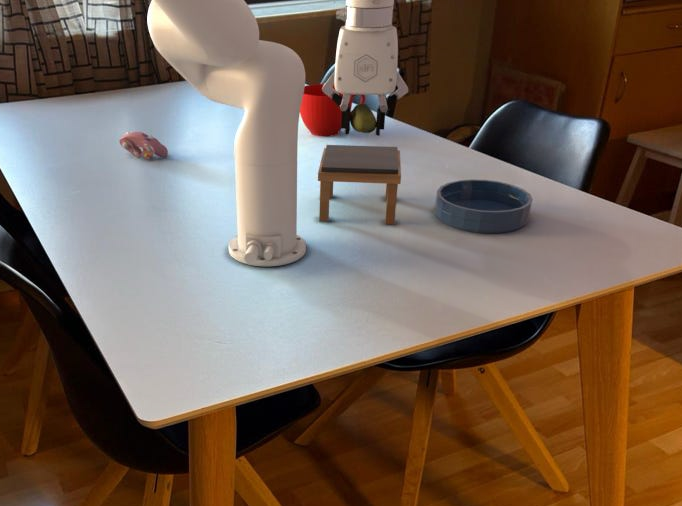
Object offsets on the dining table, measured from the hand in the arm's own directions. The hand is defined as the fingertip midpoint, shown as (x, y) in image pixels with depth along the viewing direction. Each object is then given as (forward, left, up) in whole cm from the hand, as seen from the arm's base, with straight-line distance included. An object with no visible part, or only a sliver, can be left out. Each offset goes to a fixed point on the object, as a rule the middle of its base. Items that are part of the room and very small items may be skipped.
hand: (362, 132), depth 125 cm
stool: (0, 0, -14) cm, 14 cm away
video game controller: (+26, +48, -14) cm, 56 cm away
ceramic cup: (+50, +8, -14) cm, 53 cm away
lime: (0, 0, 0) cm, 0 cm away
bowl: (-1, -22, -14) cm, 26 cm away
